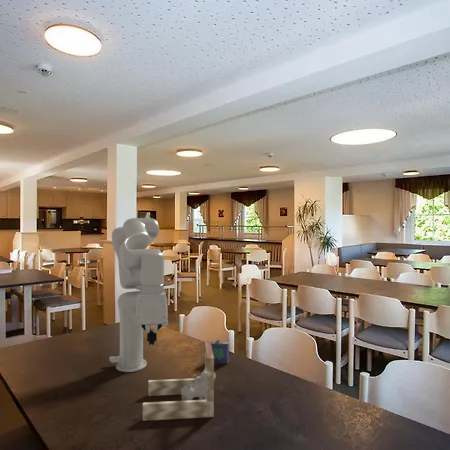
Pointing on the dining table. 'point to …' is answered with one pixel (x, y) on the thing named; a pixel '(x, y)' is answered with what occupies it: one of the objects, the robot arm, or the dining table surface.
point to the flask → (220, 352)
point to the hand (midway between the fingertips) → (151, 343)
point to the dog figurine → (196, 388)
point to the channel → (174, 388)
